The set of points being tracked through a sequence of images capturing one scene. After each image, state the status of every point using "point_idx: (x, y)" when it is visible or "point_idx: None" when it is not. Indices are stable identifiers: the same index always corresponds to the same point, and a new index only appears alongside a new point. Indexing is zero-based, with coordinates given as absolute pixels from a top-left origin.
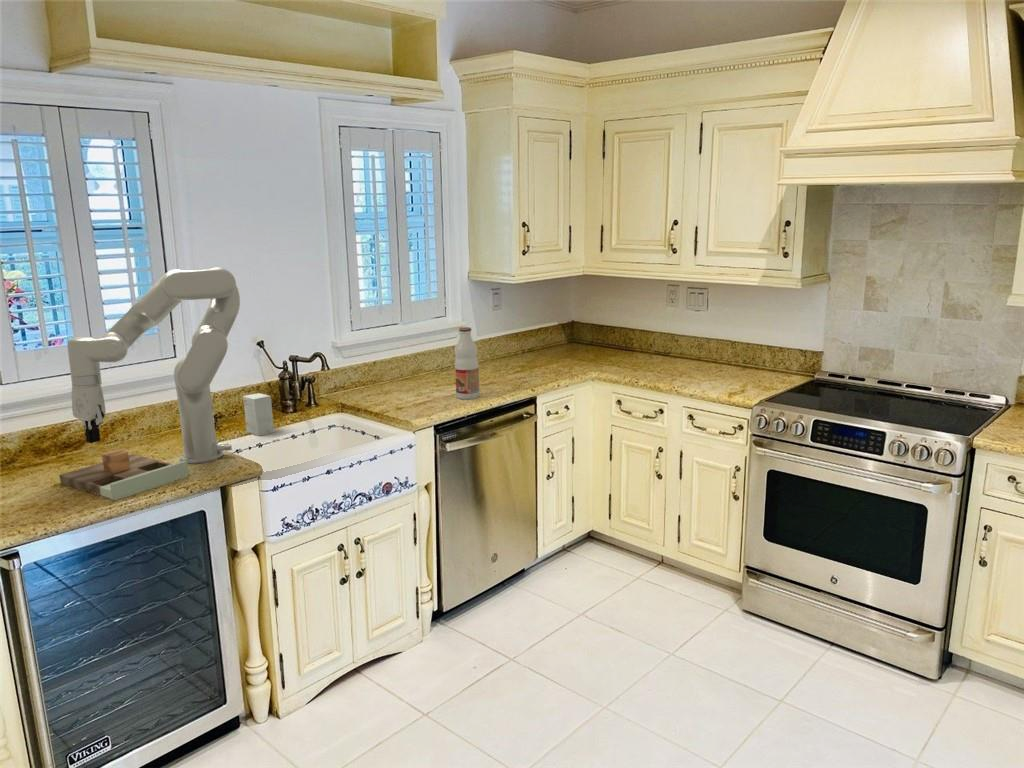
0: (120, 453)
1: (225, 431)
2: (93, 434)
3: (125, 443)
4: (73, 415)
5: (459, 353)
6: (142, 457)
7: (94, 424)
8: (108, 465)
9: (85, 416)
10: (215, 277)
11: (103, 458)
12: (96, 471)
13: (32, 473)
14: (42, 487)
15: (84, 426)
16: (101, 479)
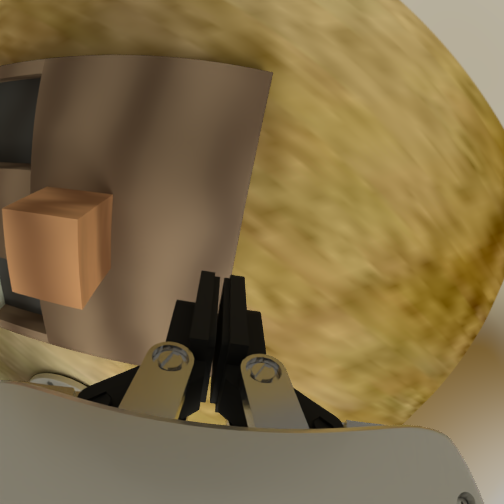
0: (13, 262)
1: None
2: (169, 328)
3: (379, 421)
4: (439, 437)
5: None
6: (136, 359)
7: (86, 390)
8: (59, 197)
9: (44, 449)
10: None
11: (75, 209)
12: (135, 172)
13: (465, 156)
14: (297, 25)
15: (280, 374)
16: (36, 119)
